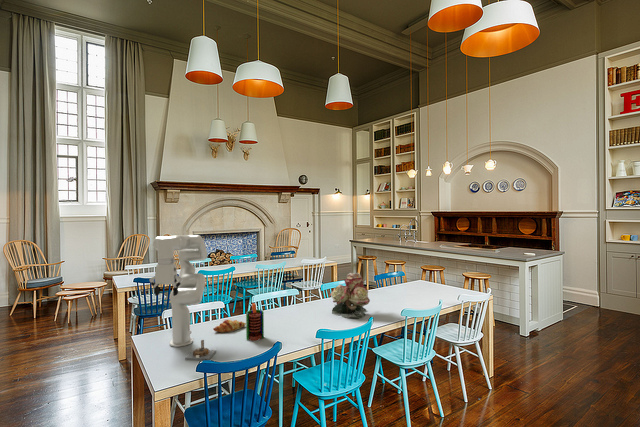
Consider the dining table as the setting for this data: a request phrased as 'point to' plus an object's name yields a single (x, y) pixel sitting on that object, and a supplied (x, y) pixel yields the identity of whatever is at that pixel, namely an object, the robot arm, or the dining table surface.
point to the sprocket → (201, 350)
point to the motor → (254, 324)
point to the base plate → (208, 356)
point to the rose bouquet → (350, 297)
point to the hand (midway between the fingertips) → (166, 295)
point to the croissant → (229, 326)
